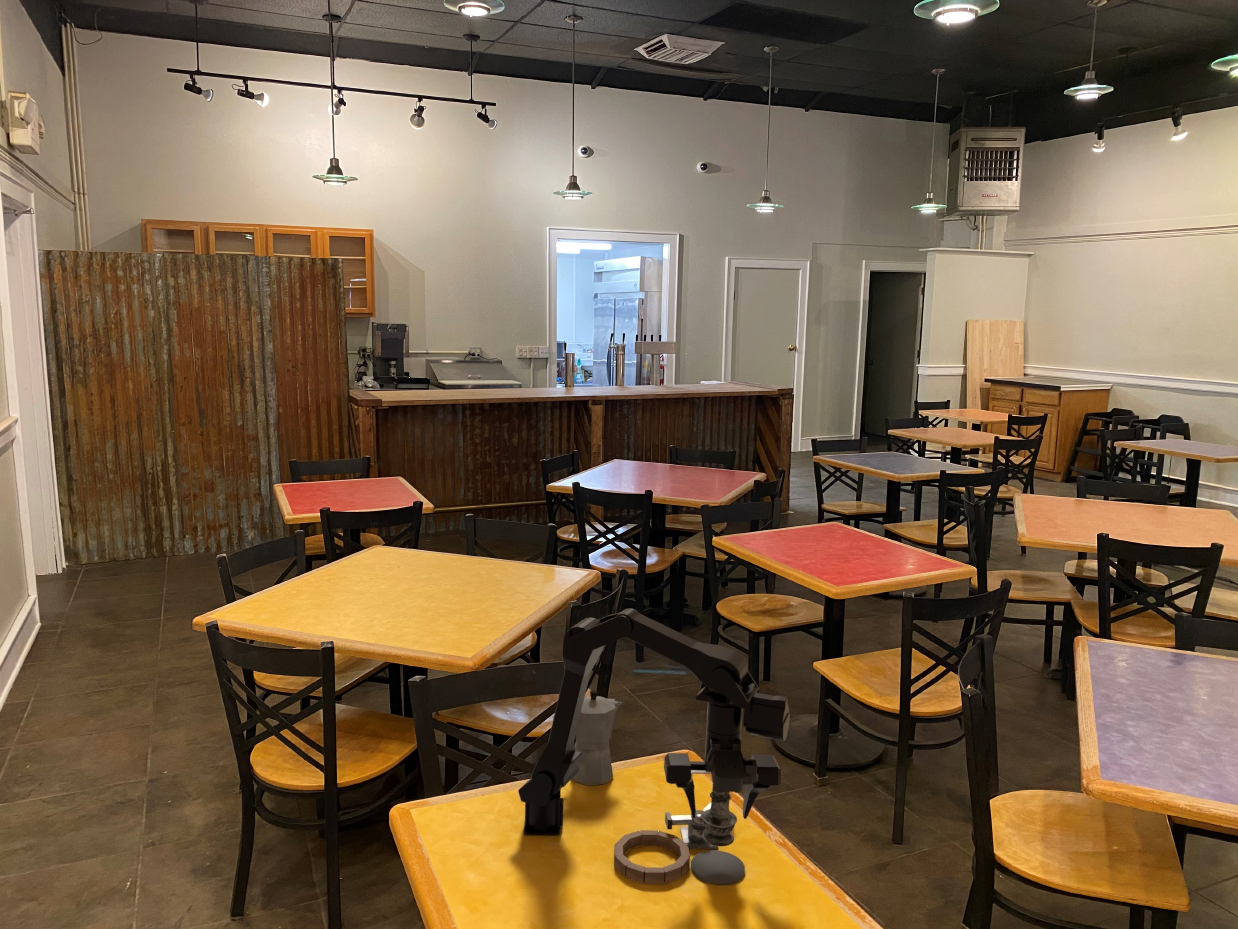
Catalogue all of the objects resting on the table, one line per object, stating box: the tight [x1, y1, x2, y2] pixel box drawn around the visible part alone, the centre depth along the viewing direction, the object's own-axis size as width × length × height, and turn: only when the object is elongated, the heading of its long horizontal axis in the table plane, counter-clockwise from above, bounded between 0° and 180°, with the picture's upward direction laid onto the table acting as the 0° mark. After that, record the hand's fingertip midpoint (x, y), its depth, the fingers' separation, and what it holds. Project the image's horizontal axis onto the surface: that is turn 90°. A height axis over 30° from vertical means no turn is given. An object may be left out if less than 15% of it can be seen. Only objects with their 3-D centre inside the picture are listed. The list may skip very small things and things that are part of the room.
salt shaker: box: [702, 787, 738, 847], centre depth 144 cm, size 6×6×12 cm
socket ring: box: [613, 829, 691, 885], centre depth 147 cm, size 13×13×2 cm
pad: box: [690, 849, 746, 886], centre depth 145 cm, size 9×9×1 cm
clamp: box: [664, 801, 711, 830], centre depth 157 cm, size 7×16×4 cm, turn 149°
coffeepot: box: [552, 689, 623, 786], centre depth 175 cm, size 15×9×18 cm, turn 119°
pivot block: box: [679, 825, 719, 850], centre depth 154 cm, size 6×6×2 cm
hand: (719, 817), depth 144 cm, fingers closed on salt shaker, 8 cm apart
